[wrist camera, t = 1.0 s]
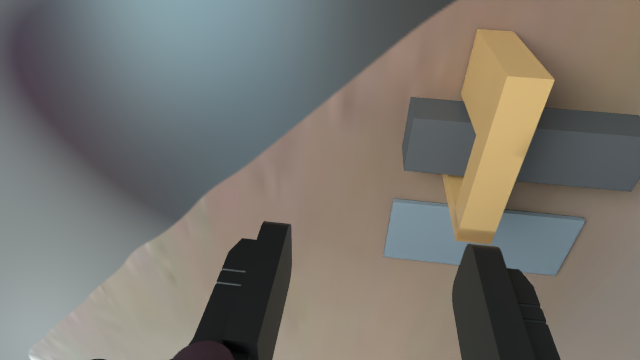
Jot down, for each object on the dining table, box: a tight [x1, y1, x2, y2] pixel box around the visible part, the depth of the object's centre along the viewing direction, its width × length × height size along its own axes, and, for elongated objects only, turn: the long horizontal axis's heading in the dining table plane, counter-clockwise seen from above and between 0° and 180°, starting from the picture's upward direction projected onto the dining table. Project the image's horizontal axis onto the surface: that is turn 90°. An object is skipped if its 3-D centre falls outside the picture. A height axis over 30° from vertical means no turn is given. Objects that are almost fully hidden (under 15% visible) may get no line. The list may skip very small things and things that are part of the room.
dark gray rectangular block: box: [402, 97, 640, 192], centre depth 26 cm, size 14×4×3 cm, turn 88°
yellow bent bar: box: [442, 29, 555, 244], centre depth 24 cm, size 2×10×7 cm, turn 178°
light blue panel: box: [384, 199, 585, 276], centre depth 33 cm, size 14×6×1 cm, turn 88°
